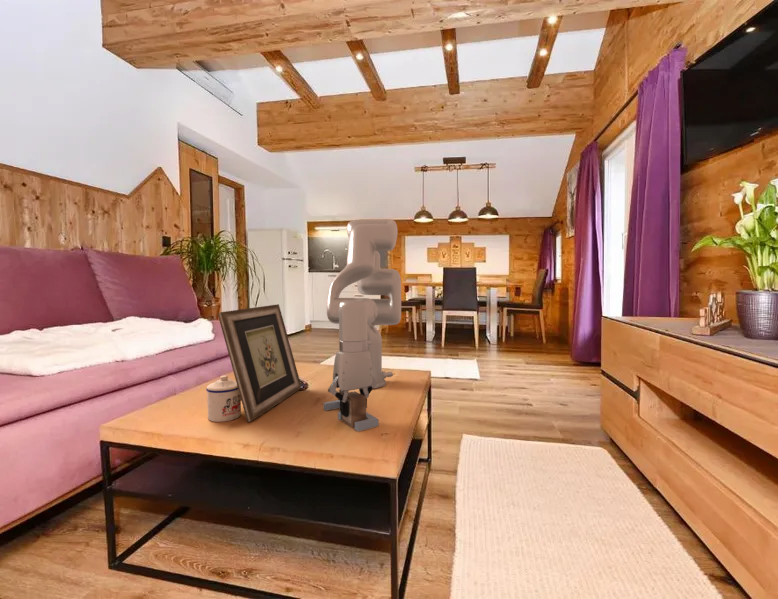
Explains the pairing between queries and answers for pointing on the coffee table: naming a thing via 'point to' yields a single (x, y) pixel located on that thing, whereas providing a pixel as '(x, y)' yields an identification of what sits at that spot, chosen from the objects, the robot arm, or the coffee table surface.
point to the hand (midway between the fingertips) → (353, 412)
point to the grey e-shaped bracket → (359, 425)
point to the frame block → (355, 409)
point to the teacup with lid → (223, 400)
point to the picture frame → (260, 357)
